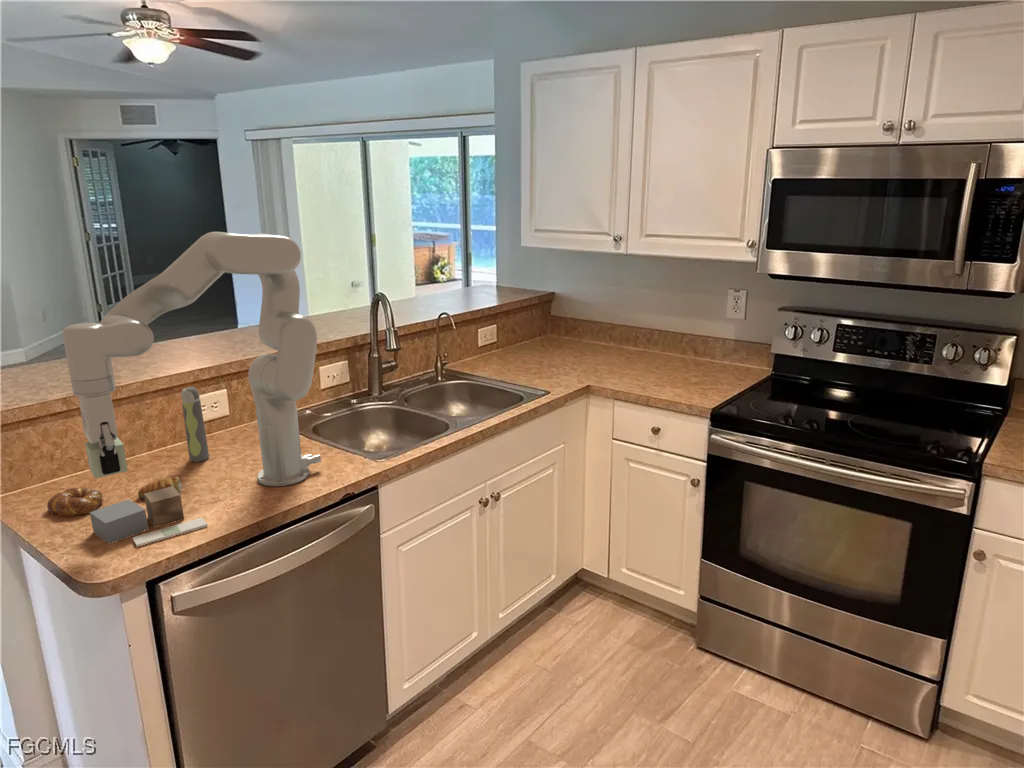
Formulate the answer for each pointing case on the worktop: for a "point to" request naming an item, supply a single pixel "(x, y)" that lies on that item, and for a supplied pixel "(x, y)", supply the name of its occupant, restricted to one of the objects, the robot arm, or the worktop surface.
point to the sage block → (94, 454)
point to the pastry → (161, 486)
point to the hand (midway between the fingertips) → (108, 466)
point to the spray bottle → (194, 425)
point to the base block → (119, 521)
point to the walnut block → (164, 506)
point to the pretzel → (75, 502)
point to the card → (169, 531)
